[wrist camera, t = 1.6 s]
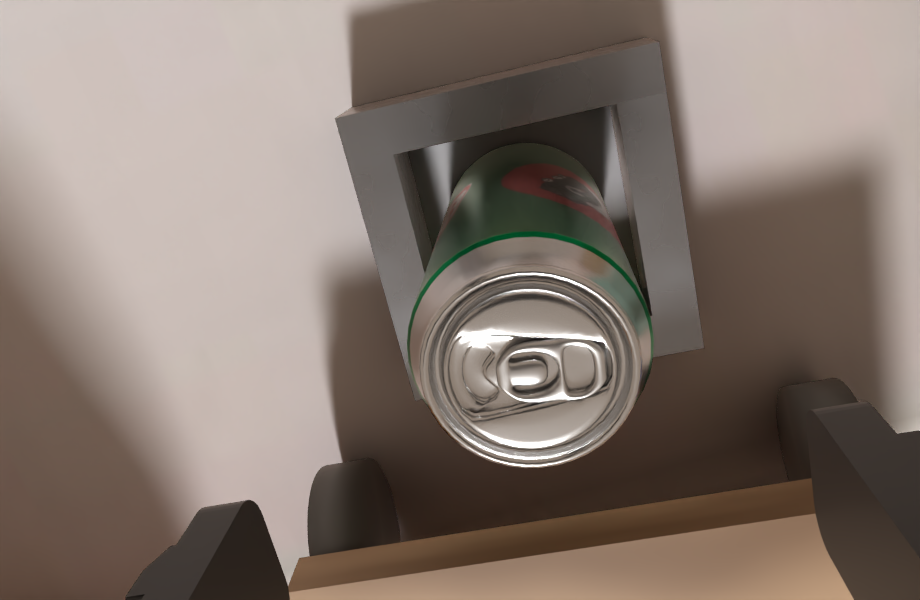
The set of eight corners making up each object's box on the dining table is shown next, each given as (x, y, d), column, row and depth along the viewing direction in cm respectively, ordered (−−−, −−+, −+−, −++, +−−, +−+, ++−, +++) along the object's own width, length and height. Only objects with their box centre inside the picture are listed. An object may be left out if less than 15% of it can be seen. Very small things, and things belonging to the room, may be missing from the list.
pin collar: (351, 107, 26) (334, 118, 24) (645, 37, 25) (659, 41, 22) (423, 368, 29) (415, 400, 27) (688, 318, 28) (704, 347, 25)
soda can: (439, 150, 26) (378, 264, 15) (595, 129, 26) (654, 231, 14) (460, 295, 28) (421, 495, 17) (608, 279, 27) (670, 474, 16)
